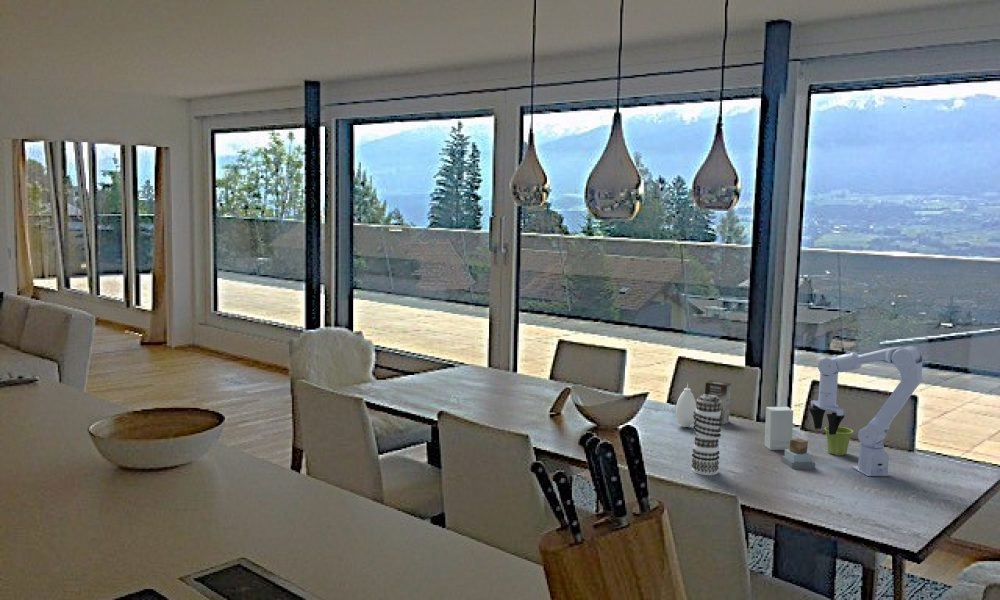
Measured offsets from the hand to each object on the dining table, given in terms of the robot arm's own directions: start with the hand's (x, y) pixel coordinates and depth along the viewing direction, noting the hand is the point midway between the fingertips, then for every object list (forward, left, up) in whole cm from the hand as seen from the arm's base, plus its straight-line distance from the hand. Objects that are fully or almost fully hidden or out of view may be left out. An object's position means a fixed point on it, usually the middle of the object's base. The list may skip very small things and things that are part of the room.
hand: (825, 431), depth 289 cm
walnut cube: (-4, +11, -6) cm, 13 cm away
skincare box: (+16, +9, -11) cm, 21 cm away
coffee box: (+55, +17, -11) cm, 59 cm away
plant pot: (+9, -10, -11) cm, 17 cm away
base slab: (-4, +11, -11) cm, 16 cm away
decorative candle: (-10, +46, -11) cm, 48 cm away
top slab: (-4, +11, -8) cm, 15 cm away
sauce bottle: (+46, +33, -11) cm, 58 cm away
